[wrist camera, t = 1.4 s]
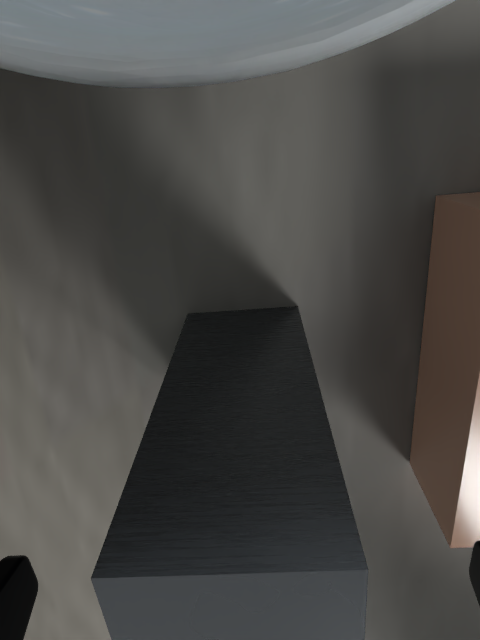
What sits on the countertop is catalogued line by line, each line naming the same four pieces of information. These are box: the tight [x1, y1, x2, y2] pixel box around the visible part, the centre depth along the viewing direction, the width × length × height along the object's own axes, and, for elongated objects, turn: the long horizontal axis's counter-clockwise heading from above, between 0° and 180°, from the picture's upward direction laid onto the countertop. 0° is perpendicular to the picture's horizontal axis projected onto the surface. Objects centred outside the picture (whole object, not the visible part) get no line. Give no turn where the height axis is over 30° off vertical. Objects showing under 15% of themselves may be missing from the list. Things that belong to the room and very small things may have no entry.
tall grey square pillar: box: [91, 306, 368, 640], centre depth 11 cm, size 4×4×10 cm
